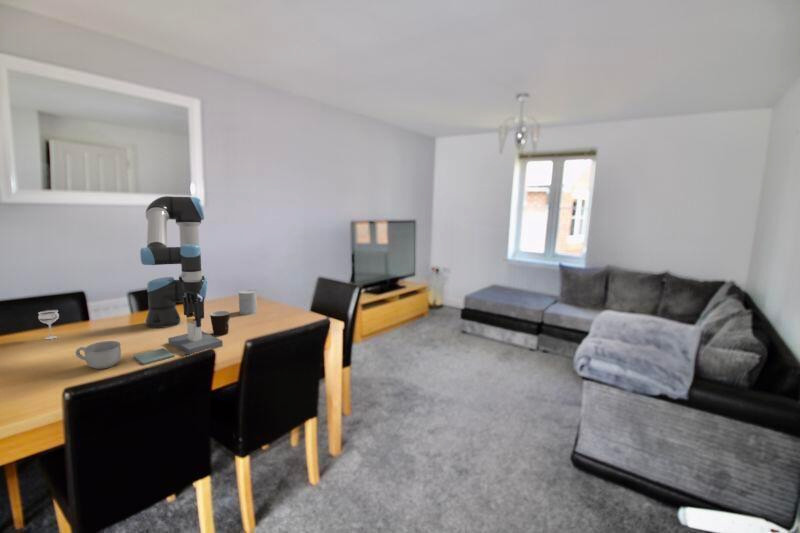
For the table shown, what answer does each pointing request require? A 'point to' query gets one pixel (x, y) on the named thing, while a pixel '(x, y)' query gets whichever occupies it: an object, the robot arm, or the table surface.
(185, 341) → the grey flat block
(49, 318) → the wineglass
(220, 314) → the coffee mug
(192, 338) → the white tall block
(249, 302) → the grey canister
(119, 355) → the teacup
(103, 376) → the table surface
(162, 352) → the pad
